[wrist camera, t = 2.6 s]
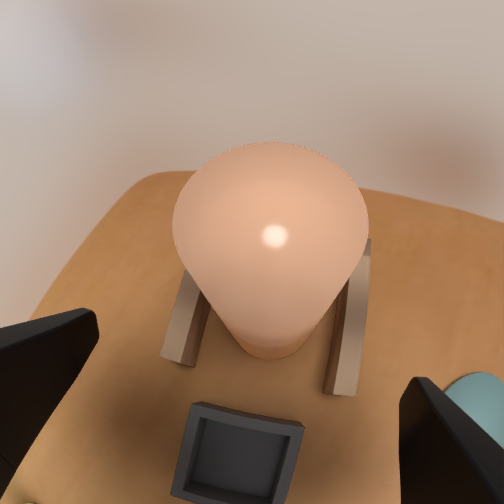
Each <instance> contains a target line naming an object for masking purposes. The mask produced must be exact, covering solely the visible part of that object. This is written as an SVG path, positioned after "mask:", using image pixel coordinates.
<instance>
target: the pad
mask: <svg viewBox="0 0 504 504" xmlns="http://www.w3.org/2000/svg"><path fill="white" fill-rule="evenodd" d="M444 393H445V394H446V395H447V396H448V397H449V398H450V399H452V400H453V401H454V402H455V403H456V404H457V405H458V406H459V407H460V408H461V409H462V410H463V411H464V412H466V413H467V414H468V415H469V416H470V417H471V418H472V419H473V420H474V421H475V422H476V423H477V424H478V425H479V426H480V427H481V428H483V429H484V430H485V431H486V432H487V433H488V434H489V435H490V436H491V437H492V438H493V439H494V440H495V441H496V442H497V443H498V444H499V445H500V446H501V447H502V448H504V384H503V382H502V381H501V380H500V379H499V378H498V377H496V376H494V375H492V374H490V373H484V372H481V373H474V374H469V375H466V376H464V377H461V378H460V379H458V380H456V381H455V382H453V383H452V384H451V385H450V386H449V387H448V388H446V389H445V390H444Z"/></svg>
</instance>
